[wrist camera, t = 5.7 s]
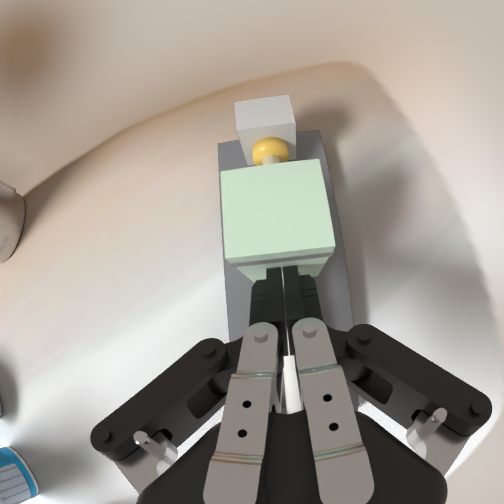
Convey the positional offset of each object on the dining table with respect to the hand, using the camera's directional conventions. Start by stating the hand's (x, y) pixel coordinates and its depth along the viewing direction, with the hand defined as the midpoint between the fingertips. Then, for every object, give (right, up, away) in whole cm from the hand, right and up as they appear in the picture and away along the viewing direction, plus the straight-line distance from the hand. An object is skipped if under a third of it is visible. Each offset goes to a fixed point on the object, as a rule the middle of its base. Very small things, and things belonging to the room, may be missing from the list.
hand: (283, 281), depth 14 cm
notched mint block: (+1, +1, +5) cm, 5 cm away
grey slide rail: (+1, 0, +6) cm, 6 cm away
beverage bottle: (-33, -29, +5) cm, 45 cm away
